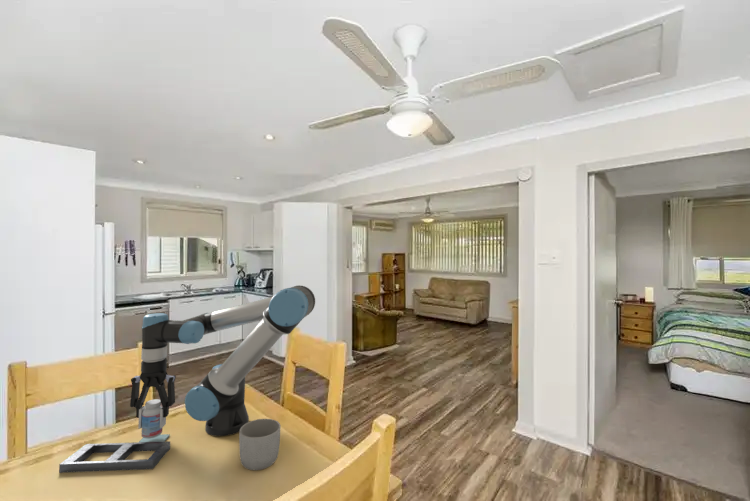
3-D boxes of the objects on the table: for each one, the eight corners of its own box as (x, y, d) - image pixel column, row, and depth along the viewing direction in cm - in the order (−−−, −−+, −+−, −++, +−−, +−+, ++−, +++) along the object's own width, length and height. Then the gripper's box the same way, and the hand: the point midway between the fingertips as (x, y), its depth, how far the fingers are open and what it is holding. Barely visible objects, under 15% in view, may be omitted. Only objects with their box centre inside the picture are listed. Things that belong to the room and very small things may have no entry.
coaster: (169, 435, 125) (169, 434, 125) (158, 448, 117) (158, 446, 117) (145, 436, 124) (145, 434, 124) (132, 449, 116) (132, 447, 116)
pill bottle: (152, 440, 117) (153, 406, 117) (136, 438, 118) (138, 404, 118) (166, 431, 123) (167, 399, 123) (151, 429, 124) (152, 397, 124)
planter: (237, 455, 114) (238, 422, 114) (276, 448, 118) (277, 415, 119) (239, 478, 102) (240, 441, 102) (282, 469, 107) (283, 433, 107)
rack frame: (170, 448, 117) (170, 441, 117) (152, 469, 106) (153, 460, 106) (85, 451, 114) (86, 443, 114) (59, 472, 103) (59, 464, 103)
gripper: (188, 355, 125) (186, 420, 125) (131, 355, 123) (129, 421, 123) (178, 362, 118) (176, 431, 117) (117, 362, 116) (115, 432, 116)
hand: (152, 426), depth 120 cm, fingers closed on pill bottle, 6 cm apart
